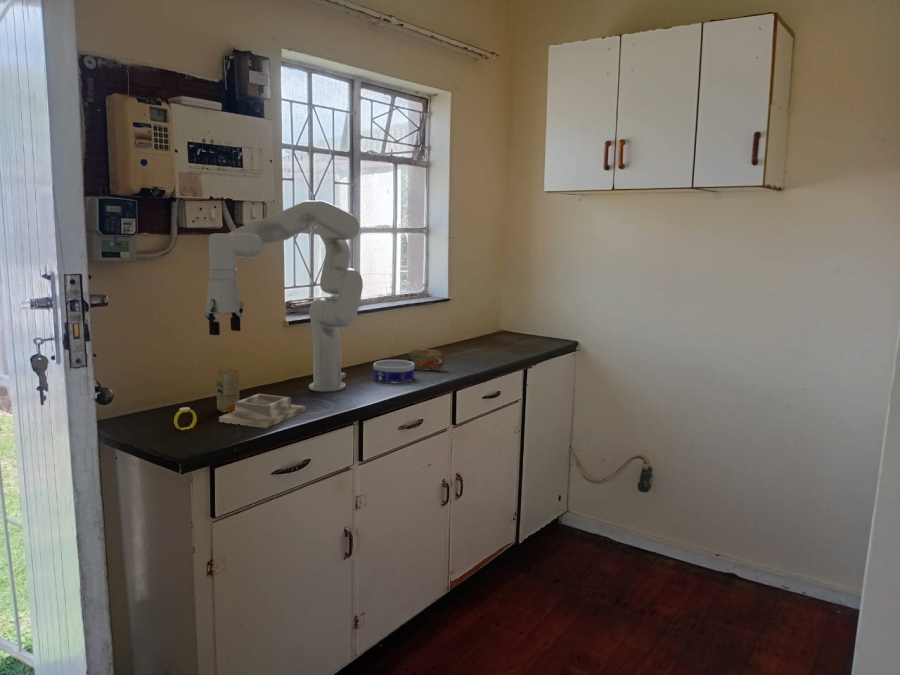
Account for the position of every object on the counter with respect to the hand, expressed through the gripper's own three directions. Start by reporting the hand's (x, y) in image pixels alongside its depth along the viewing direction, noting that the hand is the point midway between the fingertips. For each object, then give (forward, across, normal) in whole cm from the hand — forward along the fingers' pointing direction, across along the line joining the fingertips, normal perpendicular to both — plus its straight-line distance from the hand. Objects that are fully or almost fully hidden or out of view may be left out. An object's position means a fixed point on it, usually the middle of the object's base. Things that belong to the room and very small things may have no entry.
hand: (225, 332), depth 204 cm
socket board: (+24, +2, +14) cm, 28 cm away
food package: (+24, -80, +33) cm, 90 cm away
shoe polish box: (+24, 0, 0) cm, 24 cm away
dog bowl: (+24, -60, +28) cm, 71 cm away
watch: (+24, +21, +2) cm, 32 cm away
